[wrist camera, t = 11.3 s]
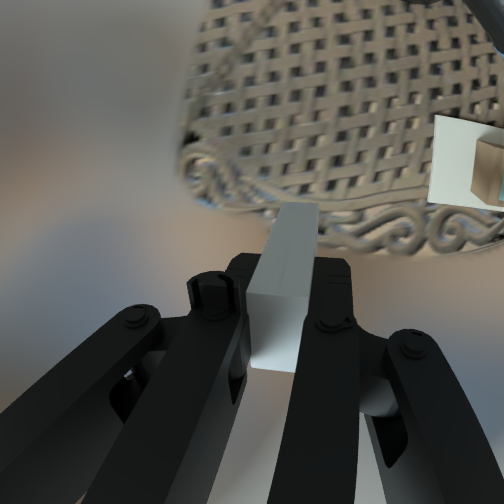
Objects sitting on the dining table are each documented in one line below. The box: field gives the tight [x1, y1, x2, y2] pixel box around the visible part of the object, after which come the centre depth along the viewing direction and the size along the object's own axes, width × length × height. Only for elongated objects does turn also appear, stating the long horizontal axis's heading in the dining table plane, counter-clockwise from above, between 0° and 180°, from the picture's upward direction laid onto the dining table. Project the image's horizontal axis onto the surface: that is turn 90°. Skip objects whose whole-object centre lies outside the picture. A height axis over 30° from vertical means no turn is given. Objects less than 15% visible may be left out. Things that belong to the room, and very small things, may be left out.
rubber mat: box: [427, 115, 504, 212], centre depth 36 cm, size 13×16×1 cm
